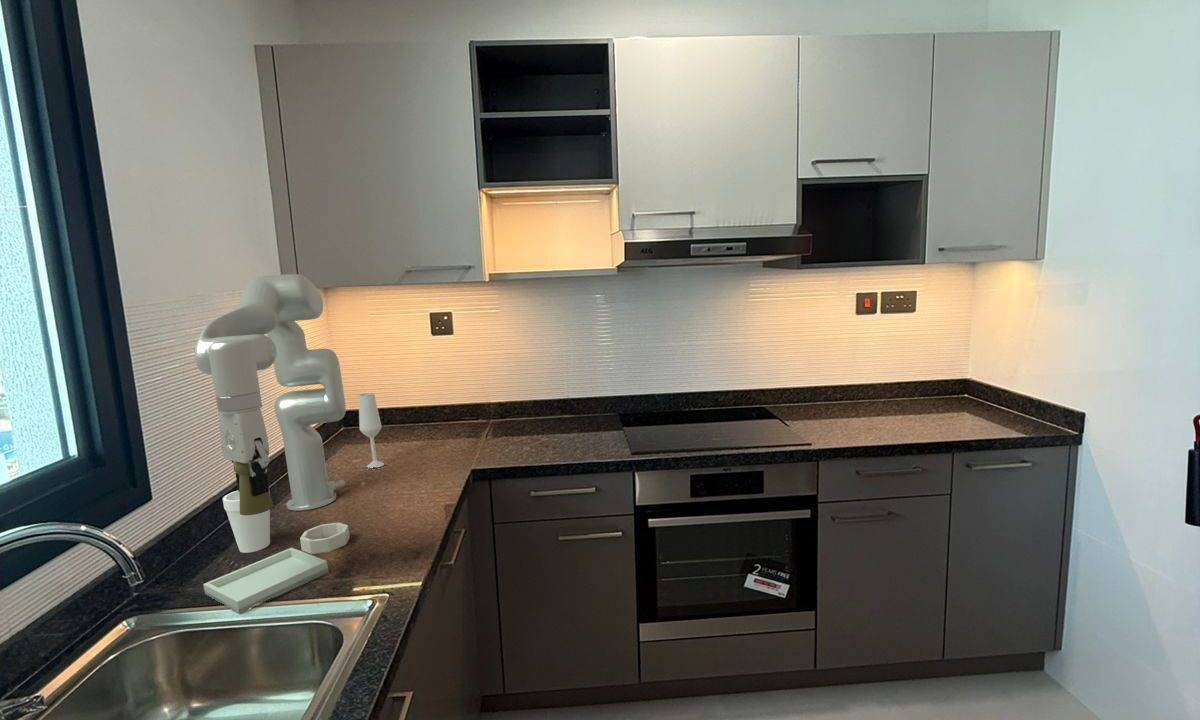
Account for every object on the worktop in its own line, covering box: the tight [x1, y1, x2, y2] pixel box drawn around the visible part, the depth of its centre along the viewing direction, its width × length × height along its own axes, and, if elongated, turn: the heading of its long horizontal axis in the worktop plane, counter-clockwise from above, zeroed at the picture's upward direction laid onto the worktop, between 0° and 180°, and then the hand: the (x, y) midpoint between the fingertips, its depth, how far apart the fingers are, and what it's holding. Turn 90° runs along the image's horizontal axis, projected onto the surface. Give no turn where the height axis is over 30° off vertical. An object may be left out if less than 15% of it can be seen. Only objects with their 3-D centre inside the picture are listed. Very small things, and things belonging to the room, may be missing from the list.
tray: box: [203, 547, 329, 615], centre depth 127 cm, size 18×14×2 cm
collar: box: [299, 522, 351, 555], centre depth 145 cm, size 10×10×3 cm
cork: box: [233, 456, 275, 515], centre depth 124 cm, size 6×6×11 cm
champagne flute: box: [358, 392, 385, 468], centre depth 202 cm, size 7×7×24 cm
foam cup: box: [222, 490, 271, 554], centre depth 145 cm, size 10×9×13 cm
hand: (253, 491), depth 124 cm, fingers closed on cork, 4 cm apart
